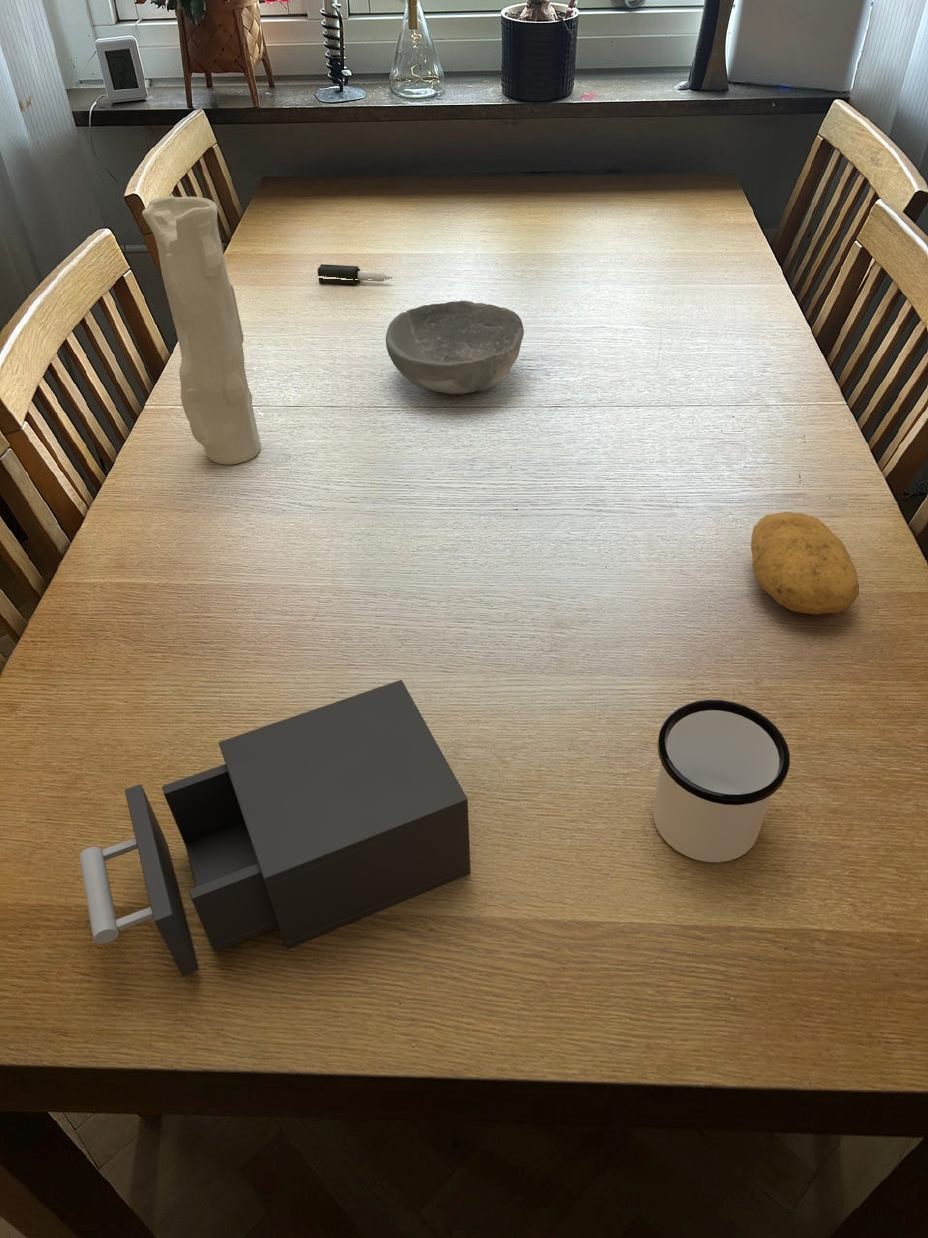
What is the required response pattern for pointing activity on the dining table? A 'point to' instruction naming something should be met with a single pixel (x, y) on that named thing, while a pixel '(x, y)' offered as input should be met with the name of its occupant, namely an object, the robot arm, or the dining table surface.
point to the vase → (205, 327)
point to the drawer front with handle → (218, 863)
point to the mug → (716, 778)
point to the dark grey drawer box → (348, 810)
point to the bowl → (455, 345)
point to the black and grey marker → (348, 274)
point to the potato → (803, 564)
